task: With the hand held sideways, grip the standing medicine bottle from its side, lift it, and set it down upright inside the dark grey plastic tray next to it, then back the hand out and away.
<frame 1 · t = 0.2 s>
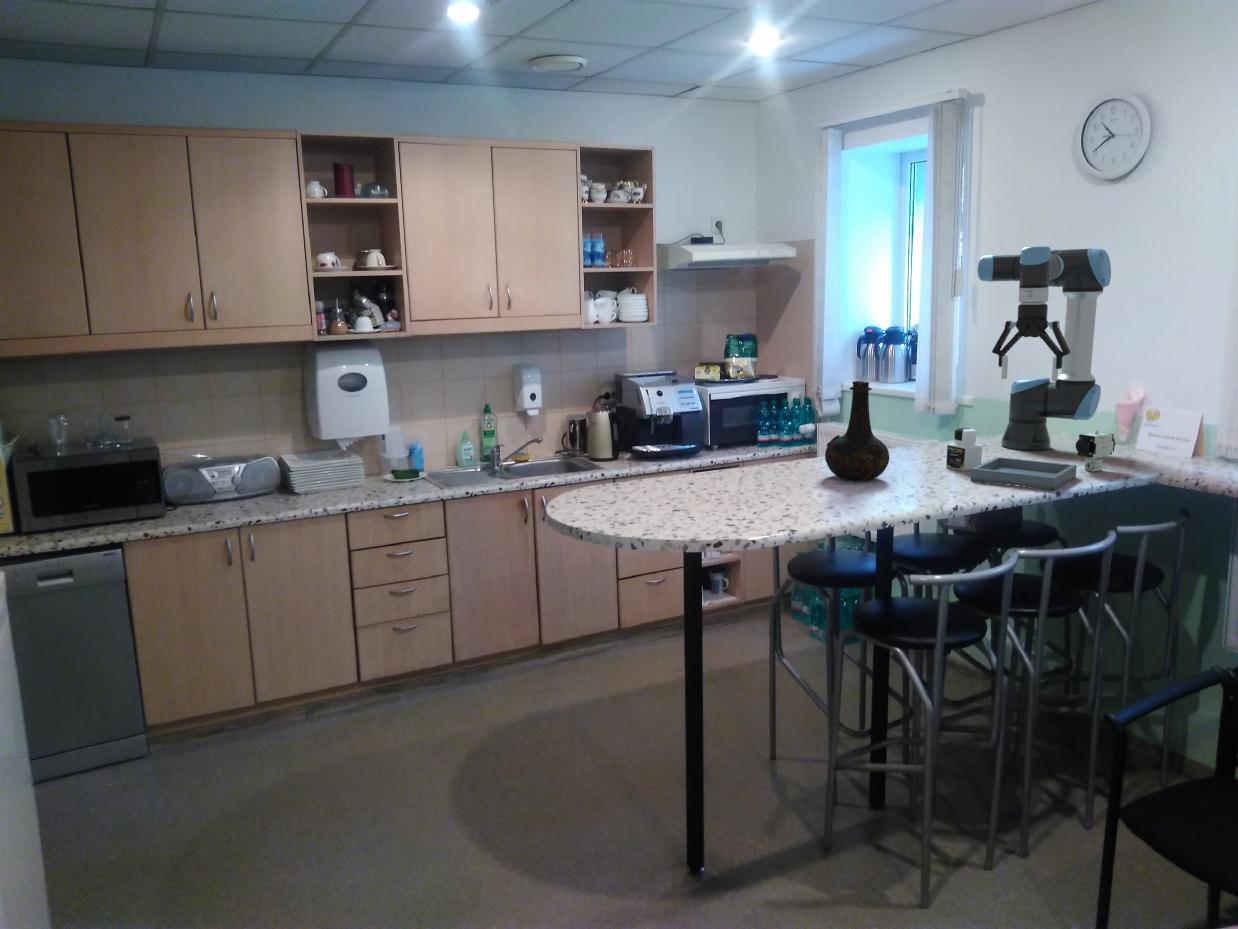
hand: (1028, 379, 258), 28 cm above the breakfast bar, tool pointing down, fingers open, 13 cm apart
tray: (1023, 479, 259), on the breakfast bar
medicine bottle: (963, 468, 275), on the breakfast bar
pneumatic valve: (1094, 471, 269), on the breakfast bar
glass bottle: (856, 479, 262), on the breakfast bar
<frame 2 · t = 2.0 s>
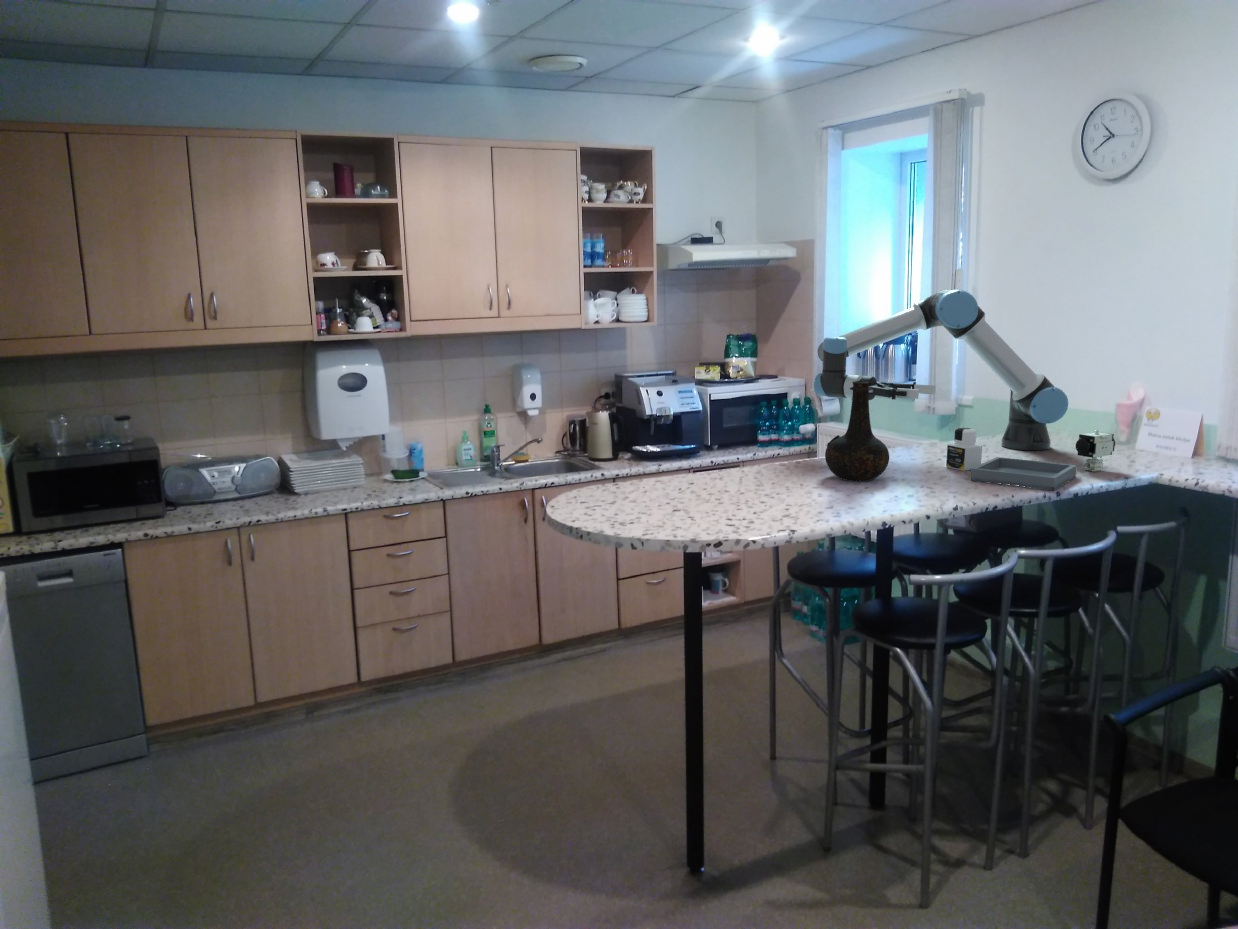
hand: (926, 392, 279), 22 cm above the breakfast bar, tool horizontal, fingers open, 13 cm apart
nothing on the breakfast bar moved.
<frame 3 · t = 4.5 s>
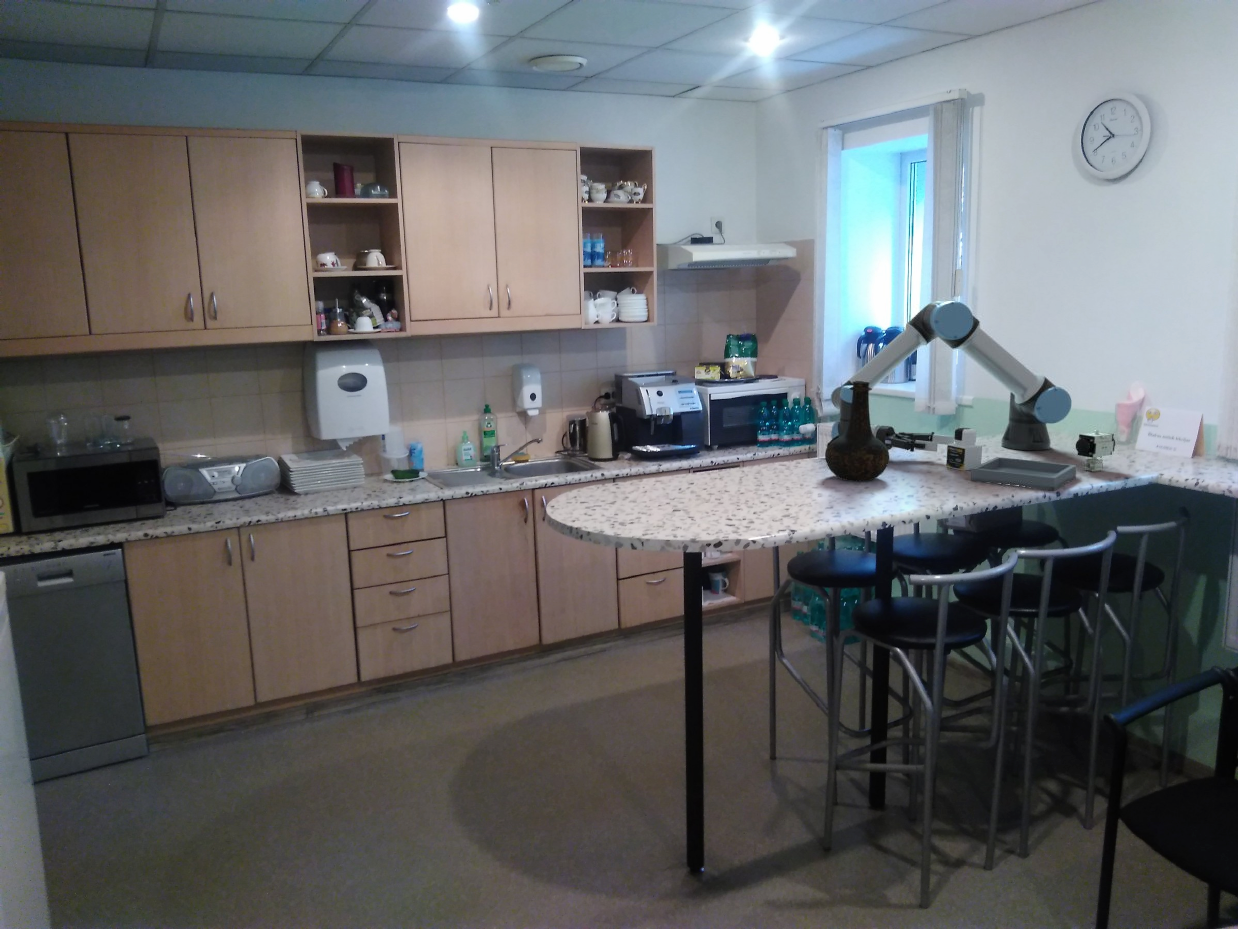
hand: (945, 443, 277), 7 cm above the breakfast bar, tool horizontal, fingers open, 13 cm apart
nothing on the breakfast bar moved.
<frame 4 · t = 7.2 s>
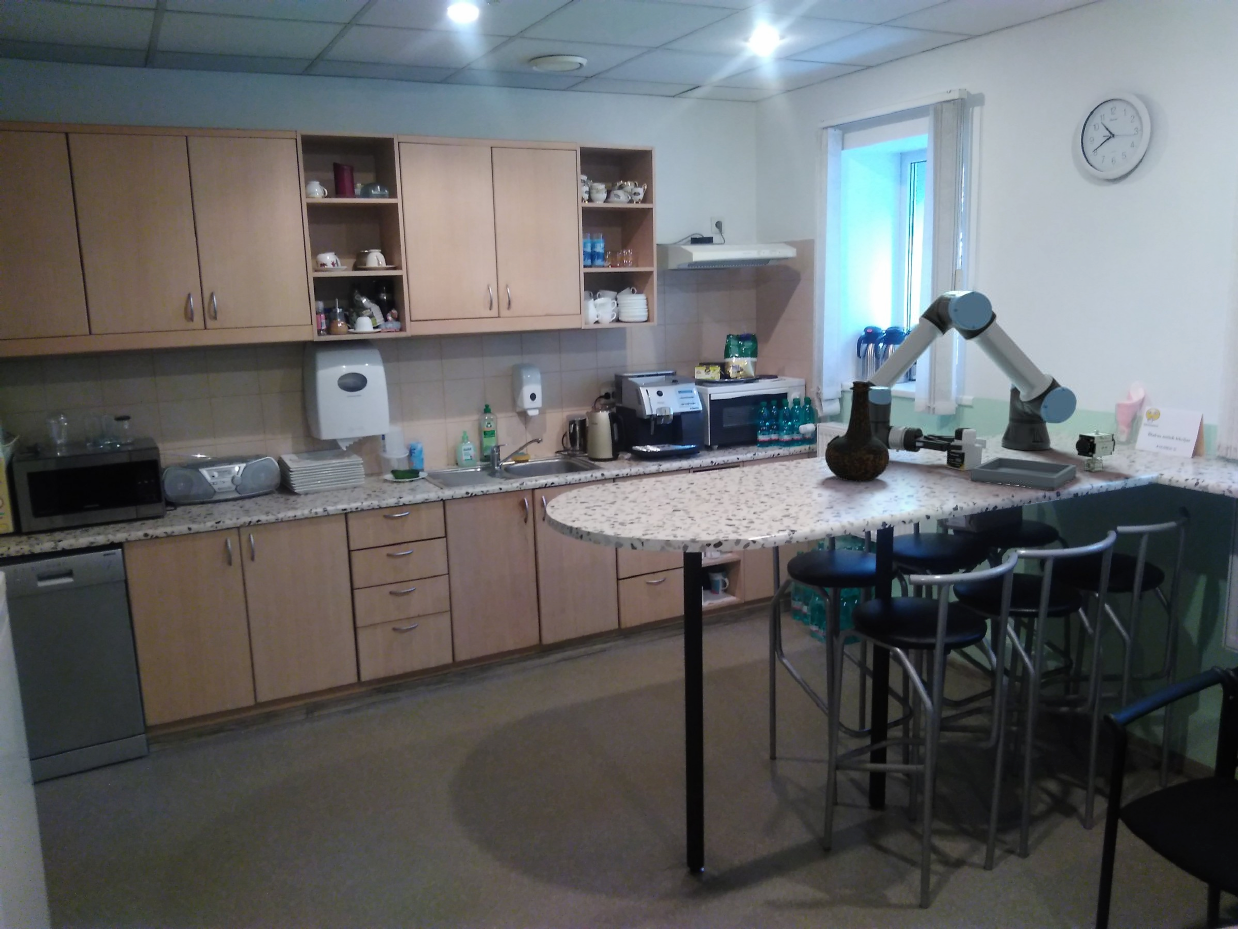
hand: (980, 446, 271), 7 cm above the breakfast bar, tool horizontal, fingers closed on medicine bottle, 9 cm apart
medicine bottle: (963, 468, 275), on the breakfast bar, touching gripper
everything else where it was.
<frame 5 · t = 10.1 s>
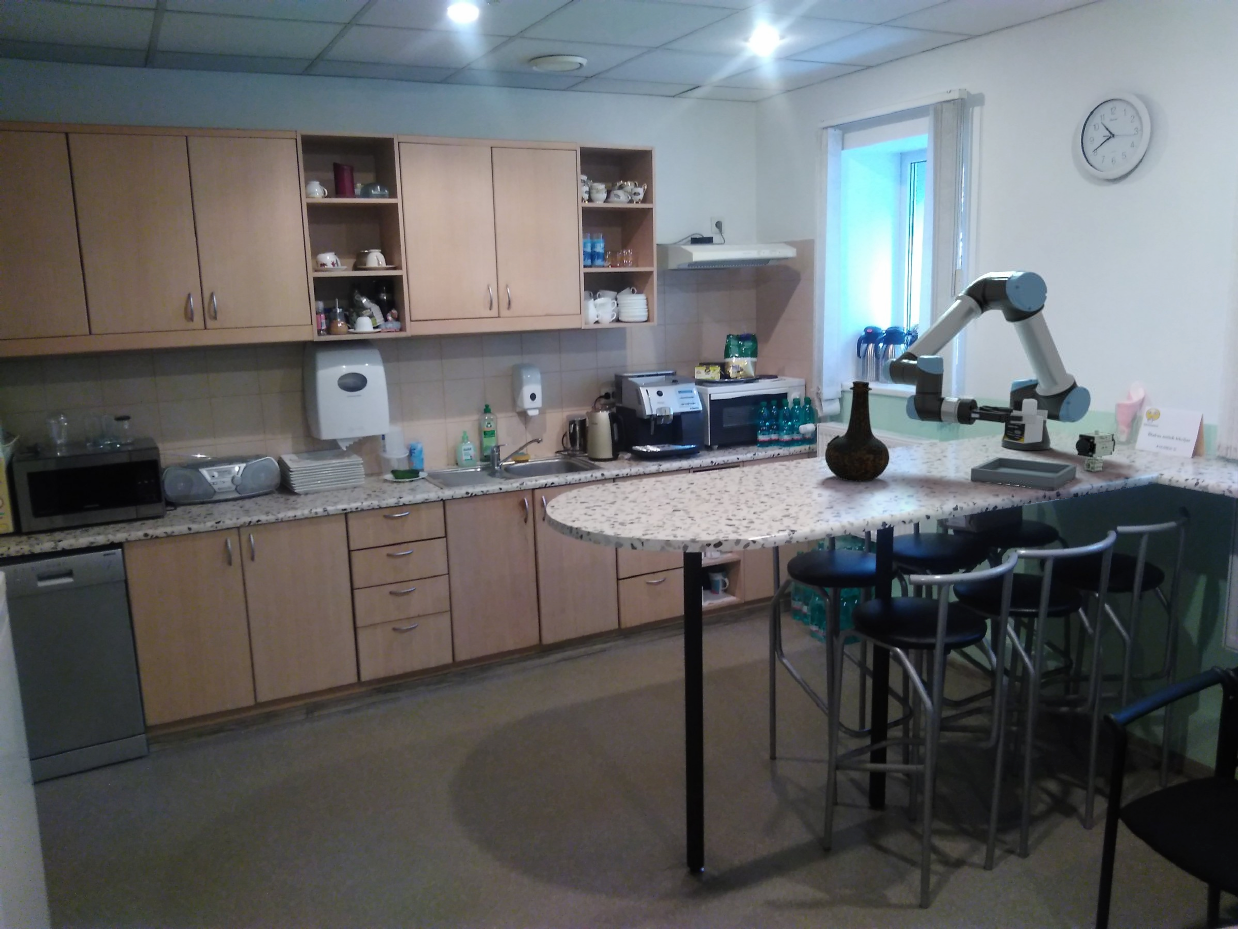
hand: (1041, 417, 253), 18 cm above the breakfast bar, tool horizontal, fingers closed on medicine bottle, 9 cm apart
medicine bottle: (1022, 441, 257), point 11 cm above the breakfast bar, touching gripper
everything else where it was.
when the fingers open (9 cm above the breakfast bar, at t = 13.1 s): medicine bottle drops 1 cm, resting on tray.
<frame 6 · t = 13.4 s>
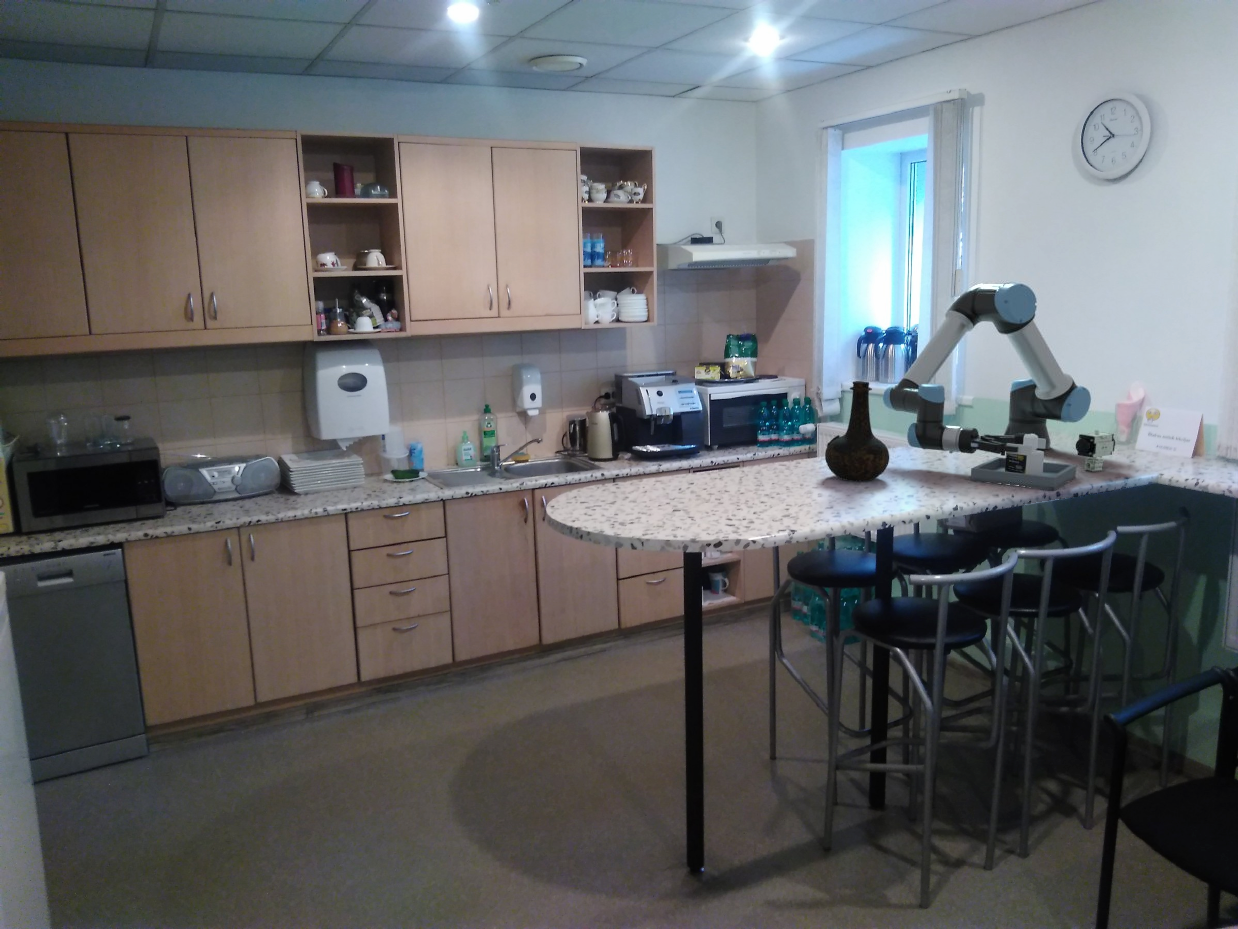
hand: (1038, 447, 255), 9 cm above the breakfast bar, tool horizontal, fingers open, 13 cm apart
medicine bottle: (1023, 476, 259), point 1 cm above the breakfast bar, touching tray
everything else where it was.
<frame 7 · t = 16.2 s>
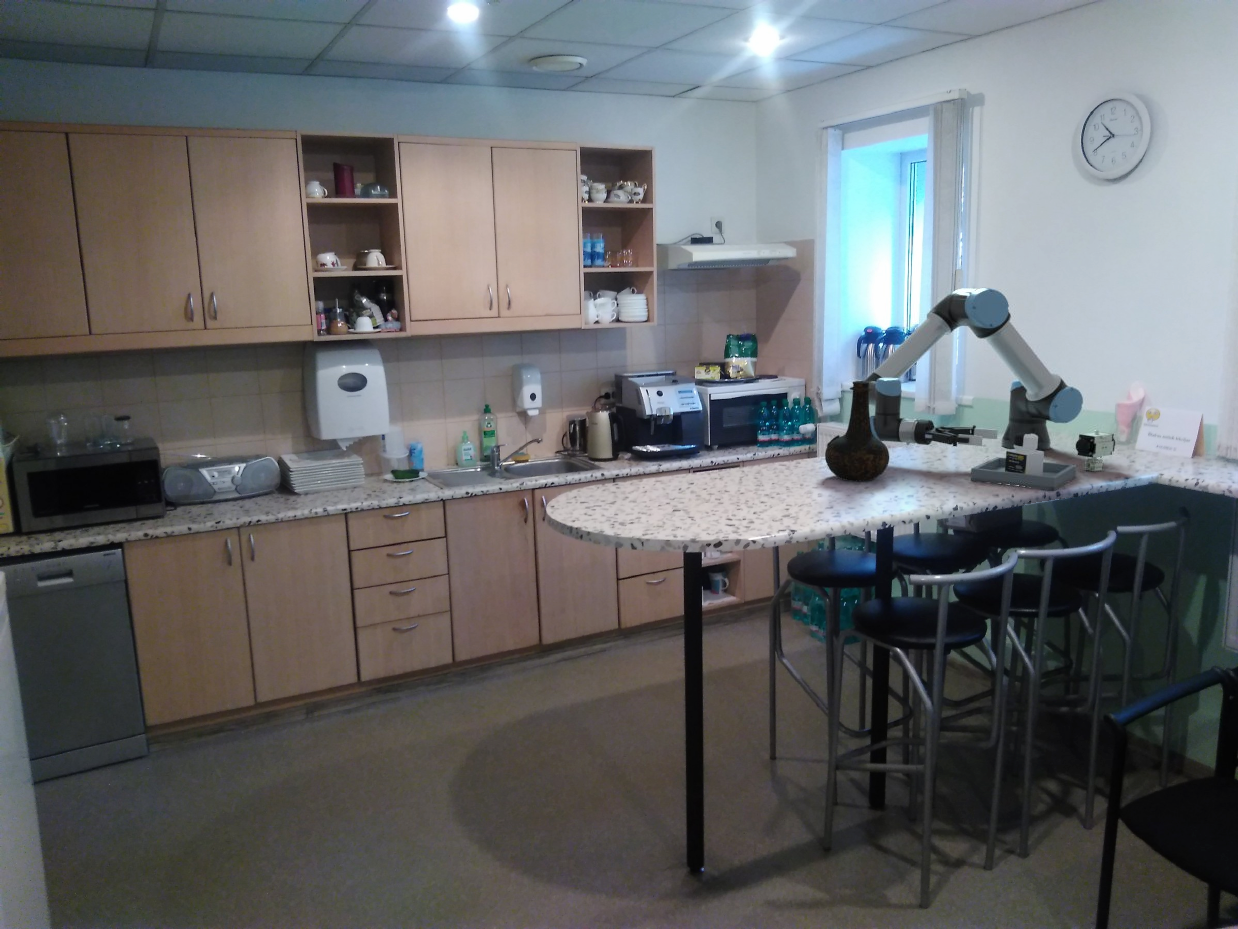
hand: (989, 437, 264), 11 cm above the breakfast bar, tool horizontal, fingers open, 13 cm apart
nothing on the breakfast bar moved.
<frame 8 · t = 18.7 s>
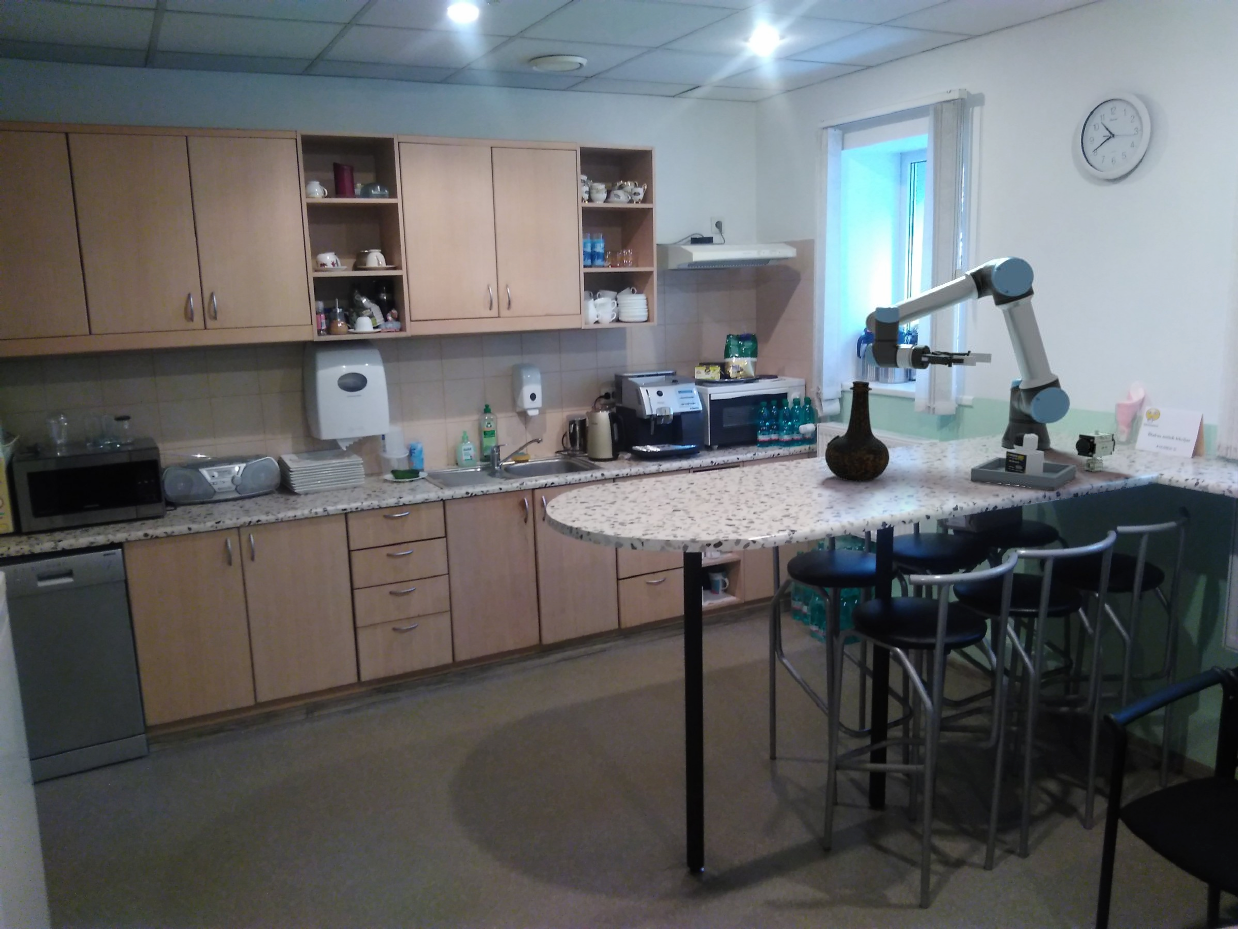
hand: (983, 359, 274), 32 cm above the breakfast bar, tool horizontal, fingers open, 13 cm apart
nothing on the breakfast bar moved.
at the end: medicine bottle inside the target area on the tray (0.1 cm from its centre), point 0.8 cm above the tray's base; medicine bottle tilted 0°; the gripper is holding nothing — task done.
